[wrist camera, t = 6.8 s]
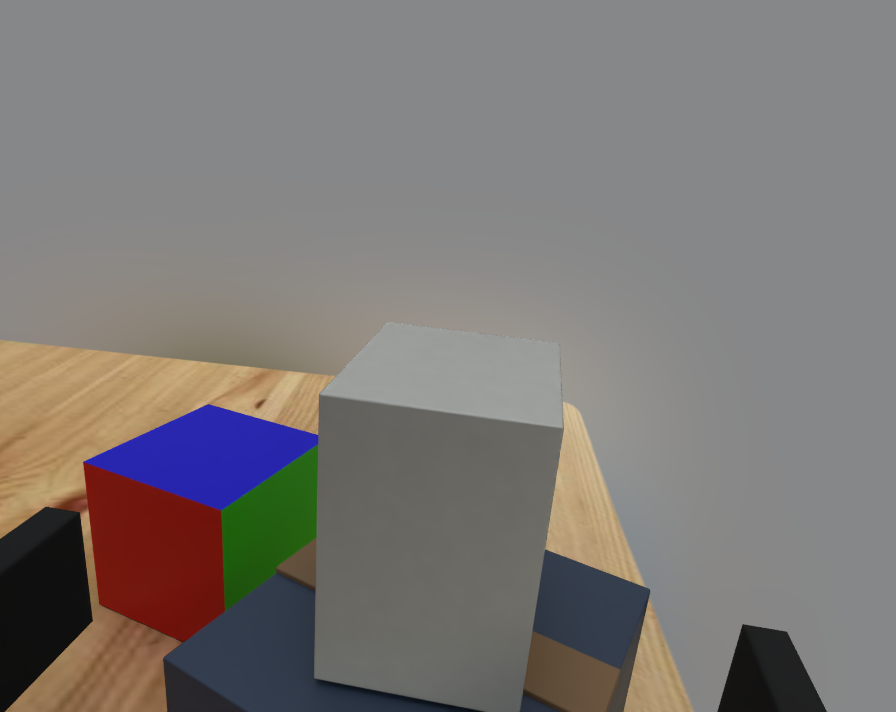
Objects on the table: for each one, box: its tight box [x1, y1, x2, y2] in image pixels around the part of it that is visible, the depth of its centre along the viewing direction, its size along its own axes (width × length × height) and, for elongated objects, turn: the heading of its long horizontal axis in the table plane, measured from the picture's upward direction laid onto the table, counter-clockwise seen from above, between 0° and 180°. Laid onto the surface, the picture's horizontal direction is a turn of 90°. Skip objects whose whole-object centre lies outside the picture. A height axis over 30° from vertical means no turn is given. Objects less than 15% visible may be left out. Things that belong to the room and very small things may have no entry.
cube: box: [83, 404, 318, 642], centre depth 32 cm, size 8×8×8 cm
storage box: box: [163, 537, 650, 712], centre depth 23 cm, size 12×12×8 cm
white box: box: [314, 322, 564, 712], centre depth 20 cm, size 6×7×9 cm
